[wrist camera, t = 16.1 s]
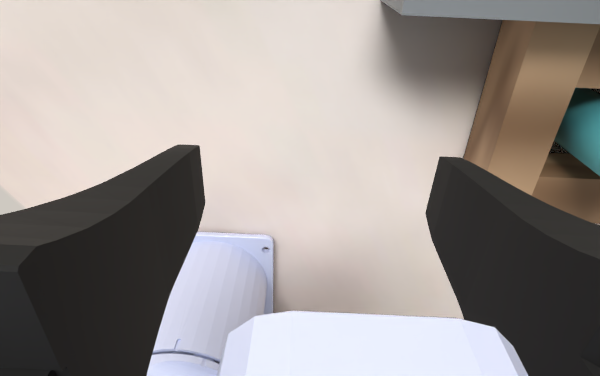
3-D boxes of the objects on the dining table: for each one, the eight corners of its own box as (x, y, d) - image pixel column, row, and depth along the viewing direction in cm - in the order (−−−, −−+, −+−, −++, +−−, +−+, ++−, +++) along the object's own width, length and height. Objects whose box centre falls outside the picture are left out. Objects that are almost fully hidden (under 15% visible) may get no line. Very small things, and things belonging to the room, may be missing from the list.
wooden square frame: (618, 196, 24) (655, 225, 21) (454, 189, 24) (472, 217, 21) (713, 20, 19) (777, 31, 16) (505, 10, 19) (536, 20, 16)
